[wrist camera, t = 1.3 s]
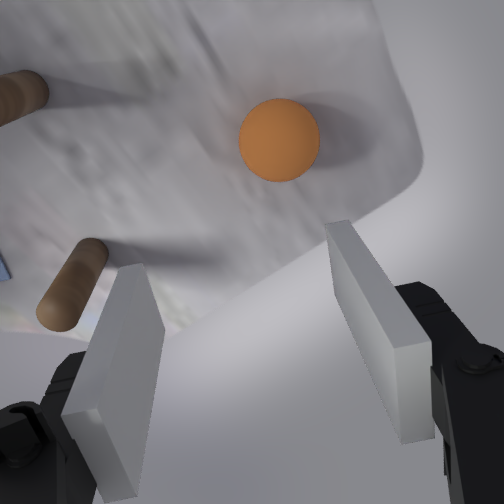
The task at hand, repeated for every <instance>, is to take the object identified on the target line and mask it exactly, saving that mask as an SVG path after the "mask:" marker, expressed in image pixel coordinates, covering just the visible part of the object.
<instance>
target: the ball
mask: <svg viewBox="0 0 504 504" xmlns="http://www.w3.org/2000/svg"><path fill="white" fill-rule="evenodd" d="M319 146H320V134H319V129H318V126H317V123H316V121H315V119H314V118H313V116H312V115H311V113H310V112H309V111H308V110H307V109H306V108H305V107H303V106H302V105H300V104H299V103H296V102H294V101H291V100H288V99H272V100H268V101H265V102H263V103H261V104H259V105H258V106H256V107H255V108H254V109H252V111H251V112H250V113H249V114H248V115H247V116H246V118H245V120H244V121H243V123H242V126H241V129H240V133H239V149H240V153H241V156H242V158H243V160H244V162H245V164H246V165H247V166H248V168H249V169H250V170H251V171H252V172H253V173H255V174H256V175H257V176H259V177H261V178H263V179H265V180H268V181H273V182H284V181H289V180H292V179H295V178H297V177H299V176H300V175H302V174H303V173H305V172H306V171H307V170H308V169H309V168H310V166H311V165H312V164H313V162H314V161H315V159H316V157H317V154H318V151H319Z"/></svg>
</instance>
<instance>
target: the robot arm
mask: <svg viewBox="0 0 504 504" xmlns="http://www.w3.org/2000/svg"><path fill="white" fill-rule="evenodd" d="M325 227H326V234H327V242H328V249H329V256H330V263H331V270H332V278H333V285H334V292H335V296H336V299H337V301H338V303H339V305H340V308H341V310H342V312H343V314H344V317H345V319H346V321H347V323H348V326H349V328H350V330H351V332H352V335H353V337H354V339H355V341H356V344H357V346H358V348H359V350H360V353H361V355H362V357H363V359H364V362H365V364H366V366H367V368H368V371H369V373H370V375H371V377H372V380H373V382H374V384H375V386H376V389H377V391H378V393H379V395H380V397H381V400H382V402H383V404H384V407H385V409H386V411H387V413H388V416H389V418H390V420H391V422H392V425H393V427H394V429H395V431H396V434H397V436H398V438H399V440H400V443H401V444H407V443H413V442H418V441H422V440H428V439H433V438H435V433H434V421H435V423H436V425H437V426H438V428H439V430H440V432H441V434H442V435H443V444H444V445H443V446H444V475H447V480H448V487H449V495H450V502H451V504H504V353H503V352H502V351H500V350H499V349H497V348H494V347H492V346H489V345H486V344H480V343H479V342H478V341H477V340H476V339H475V337H474V336H473V335H472V334H471V333H470V331H468V329H467V328H466V327H465V325H464V324H463V323H462V322H461V321H460V319H459V318H458V317H457V316H456V315H455V314H454V312H452V311H451V309H450V308H449V306H448V305H447V304H446V303H444V300H443V299H442V298H441V297H440V295H439V294H438V293H437V292H436V291H435V290H434V289H433V288H431V287H429V286H427V285H425V284H423V283H421V282H414V283H409V284H404V285H399V286H393V284H392V283H391V281H390V280H389V279H388V277H387V276H386V274H385V273H384V272H383V270H382V268H381V267H380V265H379V264H378V263H377V261H376V260H375V258H374V257H373V255H372V254H371V252H370V251H369V249H368V248H367V247H366V245H365V244H364V242H363V241H362V239H361V238H360V236H359V235H358V233H357V232H356V231H355V229H354V228H353V226H352V225H351V223H350V222H349V220H344V221H340V222H335V223H330V224H325ZM164 335H165V327H164V324H163V322H162V319H161V316H160V313H159V310H158V307H157V304H156V301H155V298H154V295H153V292H152V289H151V286H150V283H149V280H148V277H147V274H146V271H145V268H144V265H143V263H138V264H133V265H128V266H124V267H120V269H119V271H118V274H117V276H116V279H115V281H114V284H113V286H112V289H111V291H110V294H109V296H108V299H107V301H106V304H105V306H104V309H103V311H102V314H101V316H100V319H99V321H98V324H97V326H96V329H95V331H94V334H93V336H92V339H91V341H90V344H89V346H88V349H87V351H83V352H78V353H73V354H70V355H69V356H68V357H67V358H66V359H65V360H64V361H63V362H62V363H61V364H60V365H59V366H58V367H57V369H56V371H55V373H54V375H53V377H52V379H51V384H50V385H49V386H48V388H47V390H46V393H45V396H44V397H43V399H42V401H41V403H40V405H38V404H36V403H34V402H30V401H27V402H26V401H25V402H24V401H23V402H19V403H15V404H12V405H9V406H7V407H5V408H3V409H1V410H0V504H92V502H93V498H94V495H95V491H96V487H97V489H98V491H99V493H100V495H101V496H102V499H103V501H104V503H108V502H112V501H118V500H123V499H128V498H133V497H137V495H138V489H139V483H140V477H141V471H142V465H143V459H144V453H145V447H146V441H147V435H148V429H149V423H150V418H151V412H152V406H153V400H154V394H155V388H156V382H157V376H158V370H159V364H160V358H161V352H162V346H163V340H164Z"/></svg>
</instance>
